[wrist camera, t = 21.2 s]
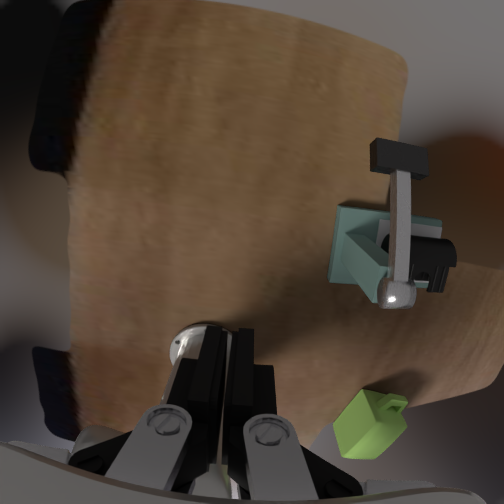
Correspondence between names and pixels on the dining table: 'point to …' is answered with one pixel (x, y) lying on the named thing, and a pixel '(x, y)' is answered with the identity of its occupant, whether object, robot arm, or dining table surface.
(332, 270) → the press frame
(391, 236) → the press lever
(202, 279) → the dining table surface
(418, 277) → the end cap
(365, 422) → the gearbox
